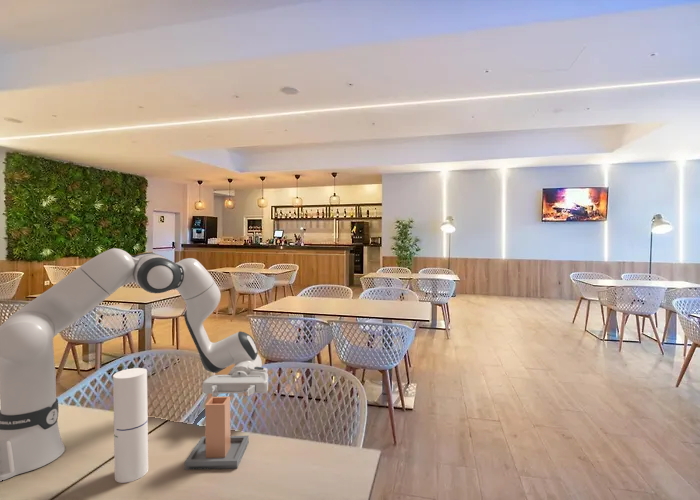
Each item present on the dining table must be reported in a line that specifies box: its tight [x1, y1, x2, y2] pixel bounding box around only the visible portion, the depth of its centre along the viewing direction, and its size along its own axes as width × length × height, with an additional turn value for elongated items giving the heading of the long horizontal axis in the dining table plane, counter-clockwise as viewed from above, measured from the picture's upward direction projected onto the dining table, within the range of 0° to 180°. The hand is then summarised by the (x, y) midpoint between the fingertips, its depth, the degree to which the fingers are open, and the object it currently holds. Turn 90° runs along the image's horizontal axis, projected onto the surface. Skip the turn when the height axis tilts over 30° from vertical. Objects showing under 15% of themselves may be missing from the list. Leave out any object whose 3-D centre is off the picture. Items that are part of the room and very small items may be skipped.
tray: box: [184, 435, 249, 471], centre depth 99 cm, size 13×12×2 cm
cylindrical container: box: [112, 367, 149, 483], centre depth 91 cm, size 7×7×25 cm
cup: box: [204, 396, 232, 458], centre depth 99 cm, size 5×5×14 cm
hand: (229, 394), depth 111 cm, fingers open, 8 cm apart
